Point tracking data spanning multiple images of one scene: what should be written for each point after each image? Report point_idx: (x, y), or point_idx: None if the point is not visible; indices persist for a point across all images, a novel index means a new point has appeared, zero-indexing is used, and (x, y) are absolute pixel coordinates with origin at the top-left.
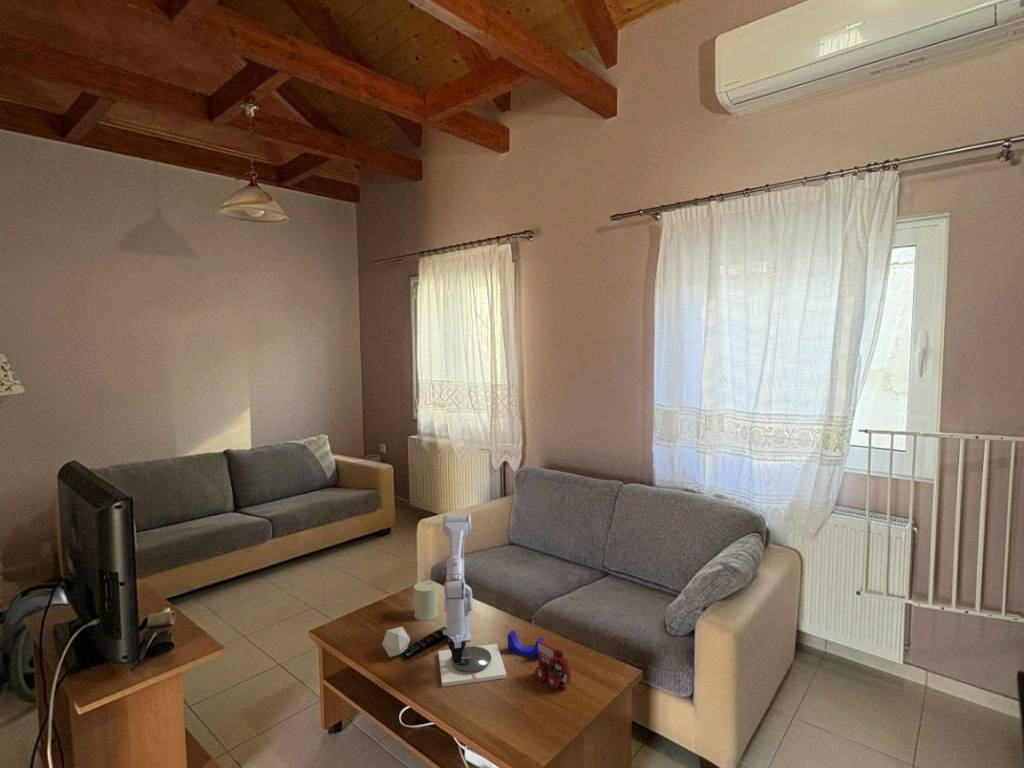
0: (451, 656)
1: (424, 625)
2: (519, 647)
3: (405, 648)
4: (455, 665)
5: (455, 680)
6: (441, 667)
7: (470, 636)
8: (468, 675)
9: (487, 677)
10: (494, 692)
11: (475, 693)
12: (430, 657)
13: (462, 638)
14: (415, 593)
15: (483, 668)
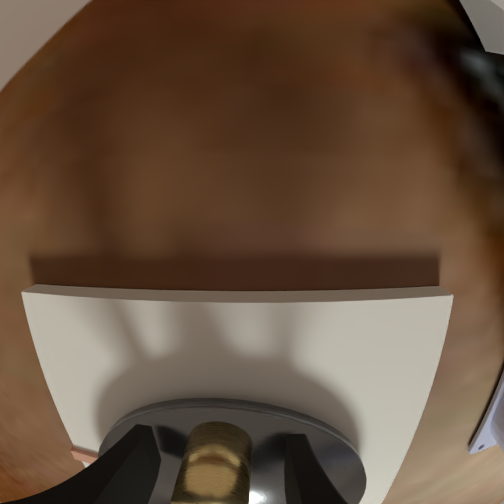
0: (272, 419)
1: None
2: None
3: (495, 30)
4: (131, 422)
5: (48, 372)
6: (192, 311)
7: (489, 446)
8: (96, 441)
9: None
10: (43, 463)
11: (21, 413)
12: (422, 218)
13: (494, 423)
14: None
15: None
